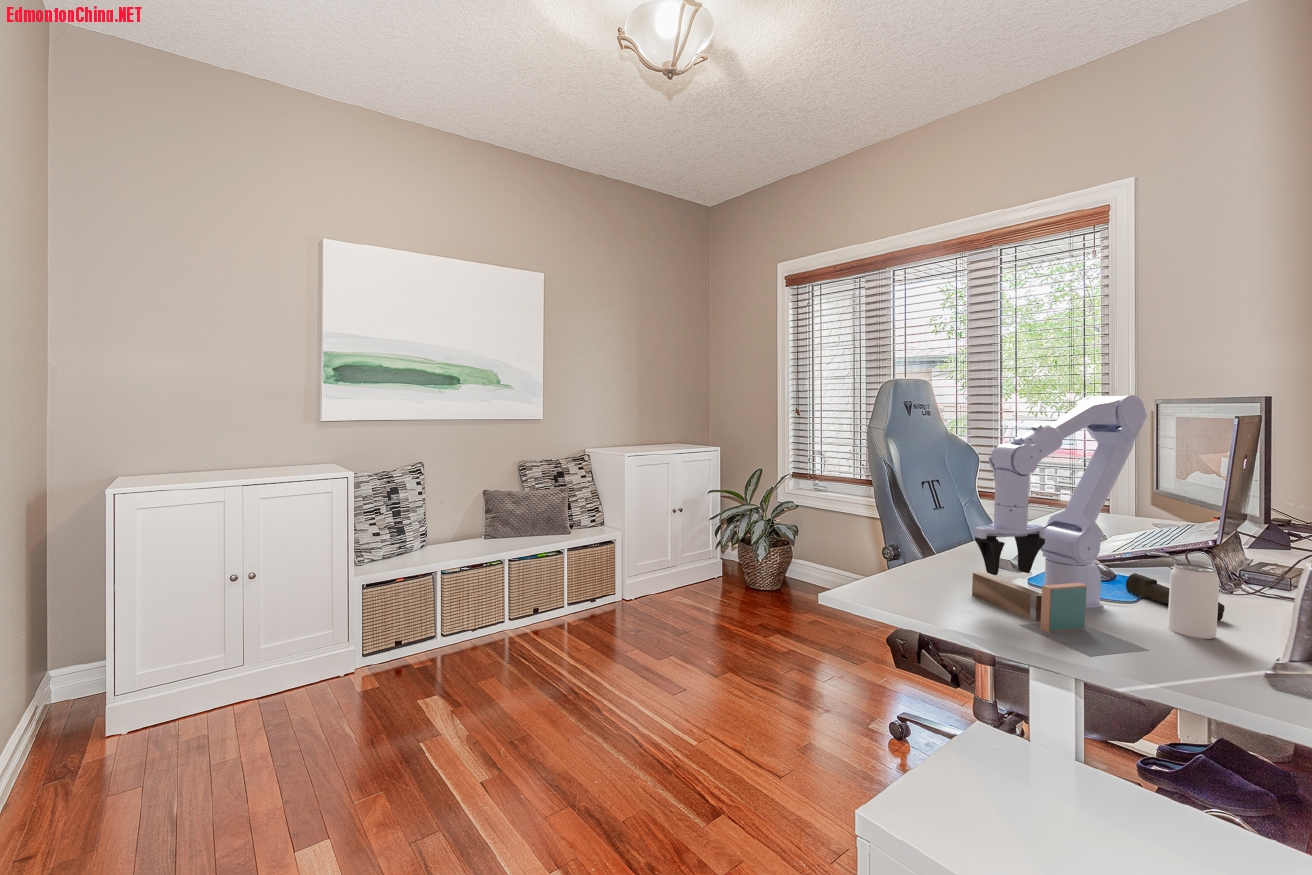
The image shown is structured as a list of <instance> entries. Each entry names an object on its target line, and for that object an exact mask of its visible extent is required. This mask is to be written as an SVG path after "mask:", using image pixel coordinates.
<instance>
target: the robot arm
mask: <svg viewBox="0 0 1312 875" xmlns="http://www.w3.org/2000/svg"><path fill="white" fill-rule="evenodd" d="M1147 417H1148V415H1147V412H1146V408H1145V405H1144V403H1143V400H1142V399H1141V398H1140V397H1139V396H1137V395H1133V394H1129V395H1110V396H1109V395H1105V396H1104V395H1099V396H1098V395H1087V396H1085V397H1084V398H1083V399H1081V400H1079V401H1077V403H1076V404H1075V407H1074V408H1073V409H1071V410H1070V411H1068V412H1067V413H1066V414H1064V415H1062V416H1061V417H1060V418H1059V419H1057V420H1055V422H1053V423H1051V424H1050V425H1048V424H1034V425H1032V426H1031V429H1030V430H1029V431H1028V432H1026V433H1025V434H1022V435H1021V436H1017V437H1015V438H1013V440H1012V441H1011V442H1010V443H1001V444H999V445H997V446H996V447H995V448H994V449H993V450H992V452H991V454H990V455H991V456H990V457H989V456H988V462H989V465H990V468H991V469H992V471H993V478H994V480H995V486H994V490H995V491H994V506H993V507H994V511H993V522H991V524H988V525H986V526H985V525H983V526H976V527H975V528H974V540H975V541H974V542H975V543H976V545H977V546H978V548H979V550H980V553H981V555H982V558H983V562H984V567H985V571H986V574H989V575H992V576H998V574H999V571H1000V559H1001V555H1002V552H1003V549H1004V546H1005V544H1006V543H1005V542H1003V541H999V539H998V538H1010V537H1011V538H1012V537H1014V541H1015V543H1016V549H1017V568H1018V571H1019V572H1022V573H1025V574H1031V570H1032V567H1033V565H1034V562H1035V560H1036V557H1037V555H1038V554H1039V552H1040V551H1041V553H1042V557H1043V558H1045V562H1044V584H1043V585H1054V584H1068V583H1081V584H1085V585H1087V596H1086V609H1091V608H1102V607H1103V608H1104V606H1105V605H1104V604H1102V603H1101V585H1102V573H1101V571H1100V568H1099V567H1098V565H1097V563H1094V561H1095V560H1096V559H1097V558H1098V556H1099V555H1100V552H1101V542H1102V539H1103V537H1104V535H1105V534H1104V532H1103V531H1102V529H1101V527H1100V526H1099V525H1098V524H1097V522H1096V521H1097V519H1098V517H1099V515H1100V513H1101V511H1102V509H1103V508H1104V505H1105V503H1106V501H1107V499H1108V497H1109V495H1110V493H1111V491H1112V490H1113V487H1114V486H1115V483H1116V481H1117V480H1118V478H1119V476H1120V474H1121V472H1122V470H1123V468H1124V465H1125V464H1126V462H1127V460H1128V458H1129V455H1130V453H1131V451H1132V450H1133V447H1134V444H1135V441H1136V439H1137V437H1138V435H1139V433H1140V431H1141V429H1142V427H1143V425H1144V423H1145V421H1146V419H1147ZM1085 428H1086V431H1087V432H1088V433H1089V435H1090V437H1091V438H1092V439H1093V440H1095V441H1096V442H1097V447H1096V449H1095V450H1094V452H1093V454H1092V456H1091V458H1090V461H1089V462H1088V464H1087V467H1086V468H1085V470H1084V472H1083V474H1082V476H1081V478H1080V480H1079V482H1078V484H1077V485H1076V488H1075V490H1074V491H1073V494H1072V495H1071V498H1070V499H1069V501H1068V503H1067V505H1066V506H1065V507H1066V508H1065V509H1064V510H1062V511H1060V512H1057V513H1055V514H1053V515H1051V516H1049V519H1048V520H1047V522H1046V523H1045V524H1044V525H1039V524H1028V517H1029V516H1028V515H1029V514H1028V513H1029V494H1030V493H1029V492H1030V474H1033V473H1035V471H1036V470H1037V468H1038V466H1039V463H1040V462H1042V460H1043V459H1045V458H1046V457H1048V456H1049V455H1052V454H1053V453H1054V452H1056V451H1057V450H1060V448H1061V447H1063V446H1062V445H1063V440H1064V439H1066V438H1068V437H1070V436H1072V435H1074V434H1076V433H1077V432H1080V431H1082V430H1083V429H1085Z"/></svg>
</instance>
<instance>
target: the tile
mask: <svg viewBox="0 0 1312 875" xmlns="http://www.w3.org/2000/svg"><path fill="white" fill-rule="evenodd" d="M1041 593H1042V602H1041V621H1040V623H1041V625H1040V630H1043V631H1045V632H1047V633H1051V632H1061V631H1072V630H1082V629H1085V625H1086V617H1087V616H1086V614H1087V613H1086V611H1087V608H1086V596H1087V585H1085V584H1081V583H1068V584H1054V585H1044V584H1043V585H1042V587H1041Z"/></svg>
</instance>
